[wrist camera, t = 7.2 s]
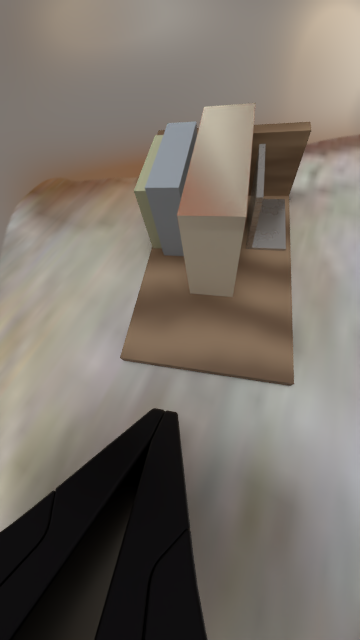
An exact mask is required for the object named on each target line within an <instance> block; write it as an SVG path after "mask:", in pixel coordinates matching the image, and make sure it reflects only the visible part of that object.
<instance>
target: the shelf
mask: <svg viewBox="0 0 360 640" xmlns="http://www.w3.org/2000/svg"><path fill="white" fill-rule="evenodd" d="M198 130H199V128H197V134H198ZM164 132H165V130H161V131H160V130H159V131H158V134H157V135H164ZM310 132H311V124H310V122H299V123H283V124H265V125H254V128H253V140H252V153H251V165H250V178H249V191H248V203H247V216H246V222H245V228H244V232H243V238H242V244H241V250H240V256H239V262H238V268H237V274H236V280H235V286H234V292H233V297H227V296H215V295H203V294H192V293H190V290H189V284H188V278H187V272H186V265H185V259H184V256H170V255H164V254H163V250H162V249H161V248H153V246H152V250H151V253H150V257H149V260H148V263H147V267H146V270H145V274H144V277H143V281H142V284H141V288H140V291H139V294H138V298H137V301H136V305H135V308H134V312H133V315H132V318H131V322H130V325H129V329H128V332H127V336H126V339H125V343H124V346H123V349H122V353H121V356H120V358H121V359H123V360H125V361H131V362H138V363H144V364H151V365H158V366H164V367H171V368H177V369H184V370H190V371H197V372H203V373H210V374H216V375H223V376H230V377H236V378H243V379H249V380H256V381H262V382H269V383H275V384H282V385H289V386H291V385H293V384H294V370H293V332H292V295H291V258H290V221H289V194H290V191H291V188H292V185H293V182H294V179H295V176H296V173H297V170H298V167H299V165H300V162H301V159H302V156H303V153H304V150H305V147H306V144H307V141H308V138H309V135H310ZM259 144H266V146H265V171H264V197H263V199H285V230H286V250H285V251H277V250H255V249H246V243H247V230H248V217H249V203H250V196H251V190H252V184H253V179H254V173H255V167H256V161H257V155H258V150H259Z"/></svg>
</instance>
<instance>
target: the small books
mask: <svg viewBox="0 0 360 640" xmlns="http://www.w3.org/2000/svg"><path fill="white" fill-rule="evenodd" d="M196 126H197V125H196V122H182V123H168V124H167V127H166V130H165V132H164V135H155V137H154V140H153V142H152V145H151V148H150V150H149V153H148V155H147V158H146V161H145V163H144V166H143V169H142V171H141V174H140V176H139V179H138V182H137V184H136V187H135V189H134V193H135V196H136V199H137V202H138V205H139V208H140V211H141V214H142V217H143V219H144V222H145V225H146V228H147V231H148V234H149V237H150V240H151V243H152V246H153V248H161V249H162V250H163V254H164V255H170V256H184V253H183V247H182V241H181V235H180V229H179V225H178V219H177V213H178V209H179V205H180V201H181V197H182V193H183V189H184V185H185V181H186V177H187V174H188V170H189V166H190V162H191V158H192V154H193V150H194V146H195V142H196V138H197V127H196Z"/></svg>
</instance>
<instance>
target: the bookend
mask: <svg viewBox="0 0 360 640" xmlns="http://www.w3.org/2000/svg"><path fill="white" fill-rule="evenodd" d="M265 146H266V144H259V150H258V155H257V161H256V167H255V173H254V179H253V184H252V190H251V196H250V203H249V217H248V230H247V243H246V249H255V250H277V251H285V250H286V230H285V199H263V197H264V171H265Z"/></svg>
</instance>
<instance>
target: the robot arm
mask: <svg viewBox="0 0 360 640" xmlns="http://www.w3.org/2000/svg"><path fill="white" fill-rule="evenodd" d="M0 640H208V639H207V635H206V630H205V624H204V619H203V613H202V608H201V602H200V597H199V591H198V586H197V578H196V571H195V564H194V556H193V548H192V539H191V531H190V522H189V513H188V504H187V495H186V485H185V476H184V467H183V458H182V449H181V440H180V430H179V421H178V414H177V412H172V411H164V410H161V409H156V408H154V409H152V410H150V411H149V412H148V413H147V414H146V415H144V416H143V417H142V418H141V419H139V420H138V421H137V422H136V423H135V424H133V425H132V426H131V427H130V428H129V429H127V430H126V431H125V432H124V433H122V434H121V435H120V436H119V437H118V438H116V439H115V440H114V441H113V442H112V443H110V444H109V445H108V446H107V447H105V448H104V449H103V450H102V451H101V452H99V453H98V454H97V455H96V456H95V457H93V458H92V459H91V460H90V461H88V462H87V463H86V464H85V465H84V466H82V467H81V468H80V469H79V470H78V471H76V472H75V473H74V474H73V475H72V476H70V477H69V478H68V479H67V480H65V481H64V482H63V483H62V484H61V485H59V486H58V487H57V488H56V491H52V492H51V493H49V494H48V495H47V496H46V497H45V498H43V499H42V500H41V501H40V502H39V503H37V504H36V505H35V506H34V507H32V508H31V509H30V510H28V511H27V512H26V513H25V514H23V515H22V516H21V517H20V518H18V519H17V520H16V521H15V522H13V523H12V524H11V525H9V526H8V527H7V528H5V529H4V530H3V531H1V532H0Z"/></svg>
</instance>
